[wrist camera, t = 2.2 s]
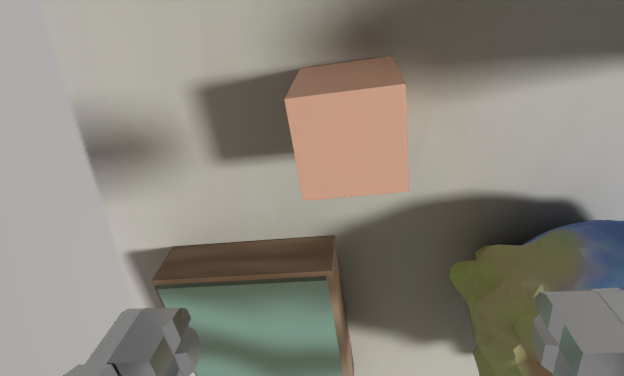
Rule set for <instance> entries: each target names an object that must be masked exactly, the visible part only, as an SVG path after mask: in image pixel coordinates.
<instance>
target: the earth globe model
mask: <svg viewBox="0 0 624 376" xmlns="http://www.w3.org/2000/svg"><path fill="white" fill-rule="evenodd" d="M474 254H475V258H476V260H470V261H459V262H457V263H455V264H453V265H452V266H451V268H450V272H449V278H450V280H451V281H452V283H453V285H454V286H455V288H456V289H457V290H458V291H459V293H460V294H461V295H462V296H463V297H464V299H465V301H466V303H467V305H468V307H469V310H470V317H471V322H472V324H473V332H474V337H475V341H476V343H477V345H478V347H477V348H476V349H475V351H474V352H473V355H474V358H475V360H476V363H477V367H478V370H479V375H480V376H553V373H551V372H550V371H549V370H547V369H546V368H545V367H543V366H542V365H541V363H540V361H539V359H538V357H537V355H536V352H535V349H534V346H533V341H532V334H531V329H532V320H533V319H534V318H536V317H537V316H538V315H539V312H538V310H537V308H536V307H535V302H536V296H537V295H538V294H539V292H547V291H567V290H586V289H588V290H591V289H603V288H619V289H621V290H623V291H624V221H612V220H591V221H585V222H579V223H574V224H569V225H565V226H562V227H558V228H555V229H552V230H549V231H547V232H545V233H542V234H540V235H538V236H536V237H535V238H533V239H531V240H529V241H528V242H526V243H525V244H523V245H502V244H496V245H492V246H484V247H482V248H480V249H478V250H477V251H475V253H474Z"/></svg>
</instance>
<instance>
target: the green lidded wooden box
mask: <svg viewBox="0 0 624 376" xmlns="http://www.w3.org/2000/svg"><path fill="white" fill-rule="evenodd" d="M152 282H153V284H154V287H155V289H156V291H157V293H158V295H159V297H160V299H161V302H162V304H163V306H164V308H186V309H187V310H188V313H189V315H190V317H191V320H190V322H189V324H188V325H189V326H190V327H191V328H193V329H194V330H195V331H197V334H198V337H199V341H200V353H199V360H198V363H197V365H196V368H195V371H194V373H195V375H196V376H354V364H353V357H352V350H351V344H350V337H349V330H348V324H347V317H346V310H345V304H344V297H343V290H342V284H341V277H340V270H339V264H338V257H337V251H336V244H335V237H334V236H322V237H308V238H293V239H279V240H264V241H250V242H235V243H221V244H207V245H192V246H178V247H173V249H172V250H171V252H170V253H169V255H168V256H167V258H166V260H165V261H164V263H163V264H162V266H161V267H160V269H159V270H158V272H157V273H156V275H155V277H154V278H153V280H152Z"/></svg>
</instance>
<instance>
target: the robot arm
mask: <svg viewBox="0 0 624 376" xmlns="http://www.w3.org/2000/svg"><path fill="white" fill-rule="evenodd" d="M535 307H536V308H537V310H538V312H539V315H538V316H537V317H536V318H534V319H533V320H532V329H531V334H532V341H533V346H534V349H535V352H536V355H537V357H538V359H539V361H540V363H541V365H542V366H543V367H545V368H546V369H547V370H549V371H550V372H551V373H553V376H624V291H623V290H621V289H619V288H603V289H591V290H588V289H586V290H567V291H547V292H539V294H538V295H537V296H536V302H535ZM190 320H191V317H190V315H189V313H188V310H187V309H186V308H145V309H127V310H125V311H124V312H122V313H121V314H120V315H119V317H118V318H117V320H116V321H115V322H114V324H113V325H112V327H111V328H110V329H109V331H108V332H107V334H106V335H105V337H104V338H103V339H102V341H101V342H100V344H99V345H98V346H97V348H96V349H95V351H94V352H93V353H92V355H91V356H90V358H89V359H88V360H87V362H86V363H85V364H84V365H78V366H76V367H75V368H73V369H72V370H70V371H69V372H68V373H66V374H65V375H63V376H189V375H190V374H191V373H192V372H194V371H195V368H196V365H197V363H198V360H199V353H200V341H199V337H198V334H197V331H195V330H194V329H193V328H191V327H190V326H189V325H188V324H189V322H190Z"/></svg>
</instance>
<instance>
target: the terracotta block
mask: <svg viewBox="0 0 624 376" xmlns="http://www.w3.org/2000/svg"><path fill="white" fill-rule="evenodd" d="M284 101H285V106H286V112H287V117H288V122H289V128H290V133H291V138H292V143H293V149H294V154H295V159H296V165H297V170H298V175H299V181H300V186H301V191H302V197H303V201H305V200H317V199H328V198H340V197H352V196H364V195H375V194H387V193H399V192H409V164H408V133H407V102H406V83H405V81H404V79H403V77H402V75H401V73H400V71H399V69H398V67H397V65H396V63H395V61H394V59H393V57H392V56H387V57H380V58H373V59H365V60H358V61H351V62H343V63H336V64H329V65H322V66H314V67H307V68H300V70H299V72H298V74H297V76H296V77H295V79H294V81H293V83H292V85H291V87H290V89H289V91H288V93H287V95H286V97H285V98H284Z"/></svg>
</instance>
